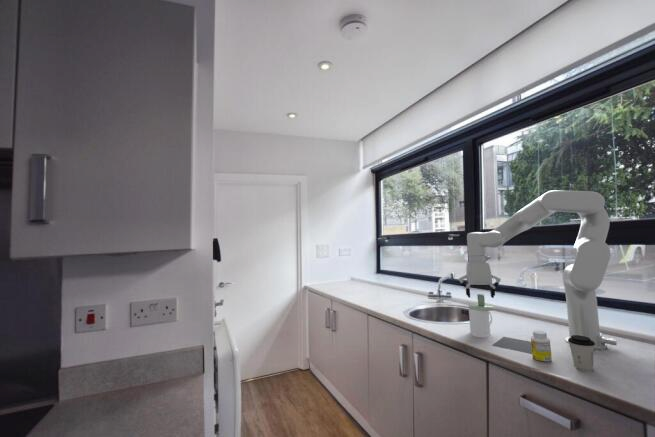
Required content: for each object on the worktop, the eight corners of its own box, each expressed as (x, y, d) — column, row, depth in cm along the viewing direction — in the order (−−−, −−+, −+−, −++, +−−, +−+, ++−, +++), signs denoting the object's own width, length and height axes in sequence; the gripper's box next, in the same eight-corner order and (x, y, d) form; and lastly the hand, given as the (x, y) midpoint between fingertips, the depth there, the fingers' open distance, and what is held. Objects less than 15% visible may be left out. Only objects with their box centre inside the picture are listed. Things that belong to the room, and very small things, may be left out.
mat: (542, 345, 123) (542, 343, 123) (532, 355, 113) (532, 353, 113) (503, 338, 133) (503, 336, 133) (491, 346, 123) (491, 345, 123)
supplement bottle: (535, 357, 111) (532, 328, 112) (553, 361, 107) (551, 331, 108) (530, 362, 108) (528, 332, 108) (550, 366, 104) (547, 335, 104)
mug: (487, 330, 144) (484, 304, 144) (501, 336, 136) (499, 308, 136) (465, 333, 141) (463, 307, 141) (479, 339, 132) (477, 311, 133)
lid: (498, 307, 139) (497, 293, 139) (490, 312, 131) (489, 297, 131) (473, 304, 147) (472, 291, 147) (464, 308, 139) (463, 295, 139)
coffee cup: (603, 372, 98) (600, 340, 98) (583, 374, 97) (580, 341, 98) (583, 363, 104) (580, 333, 105) (564, 365, 104) (562, 335, 105)
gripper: (496, 258, 141) (499, 295, 140) (456, 259, 146) (459, 295, 145) (500, 259, 134) (504, 299, 133) (458, 260, 139) (460, 298, 138)
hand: (480, 297), depth 139 cm, fingers open, 9 cm apart
